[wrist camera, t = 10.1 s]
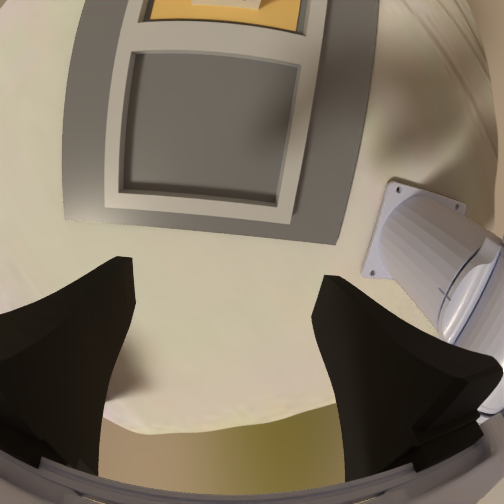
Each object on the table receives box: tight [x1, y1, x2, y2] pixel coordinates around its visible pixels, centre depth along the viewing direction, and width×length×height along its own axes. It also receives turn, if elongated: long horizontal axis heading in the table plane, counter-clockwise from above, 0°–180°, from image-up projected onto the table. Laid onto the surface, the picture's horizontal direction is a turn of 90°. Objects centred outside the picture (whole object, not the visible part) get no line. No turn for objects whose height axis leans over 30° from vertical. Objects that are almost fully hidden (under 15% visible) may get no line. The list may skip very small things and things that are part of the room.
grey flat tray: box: [62, 0, 379, 245], centre depth 13 cm, size 20×25×2 cm
